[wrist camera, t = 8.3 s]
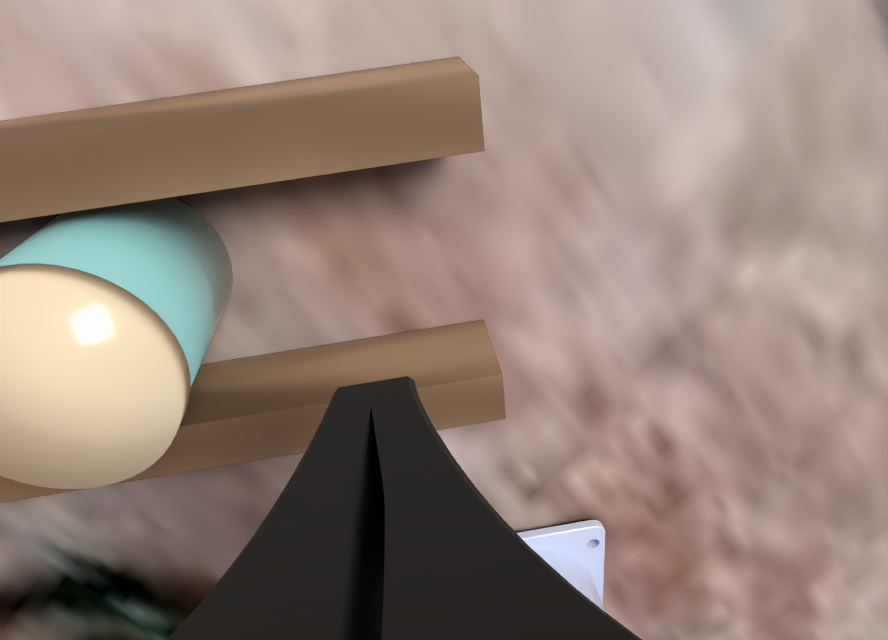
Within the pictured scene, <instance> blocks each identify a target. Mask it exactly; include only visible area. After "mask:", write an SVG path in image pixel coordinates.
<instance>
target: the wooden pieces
mask: <svg viewBox="0 0 888 640" xmlns="http://www.w3.org/2000/svg"><path fill="white" fill-rule="evenodd" d="M481 151H485V150H484V138H483V125H482V113H481V100H480V88H479V75H477V74H476V73H475V72H474V71H473V70H472V69H471V68H470V67H469V66H468V65H467V64H466V63H465V62H464V61H463V60H462V59H461V58H460V57H453V58H446V59H439V60H432V61H425V62H417V63H410V64H403V65H396V66H389V67H382V68H375V69H368V70H360V71H353V72H346V73H339V74H332V75H325V76H318V77H311V78H303V79H296V80H289V81H282V82H275V83H268V84H261V85H253V86H246V87H239V88H232V89H225V90H218V91H211V92H204V93H196V94H189V95H182V96H175V97H168V98H161V99H154V100H147V101H139V102H132V103H125V104H118V105H111V106H104V107H97V108H90V109H82V110H75V111H68V112H61V113H54V114H47V115H40V116H33V117H25V118H18V119H11V120H4V121H0V222H6V221H13V220H19V219H26V218H33V217H40V216H47V215H53V214H60V213H67V212H74V211H81V210H87V209H94V208H101V207H108V206H114V205H121V204H128V203H135V202H142V201H148V200H155V199H162V198H169V197H176V196H182V195H189V194H196V193H203V192H210V191H216V190H223V189H230V188H237V187H244V186H250V185H257V184H264V183H271V182H277V181H284V180H291V179H298V178H305V177H311V176H318V175H325V174H332V173H339V172H345V171H352V170H359V169H366V168H373V167H379V166H386V165H393V164H400V163H406V162H413V161H420V160H427V159H434V158H440V157H447V156H454V155H461V154H468V153H474V152H481ZM405 376H408V377H410V378H411V379H413V380H414V381H415V385H416V389H417V392H418V395H419V398H420V400H421V402H422V405H423V407H424V409H425V411H426V413H427V415H428V417H429V419H430V421H431V422H432V424H433V426H434V428H435V429H436V430H442V429H448V428H454V427H460V426H466V425H472V424H478V423H484V422H490V421H496V420H502V419H506V414H505V402H504V389H503V377H502V372H501V369H500V366H499V363H498V360H497V357H496V354H495V351H494V349H493V346H492V343H491V340H490V337H489V334H488V331H487V328H486V325H485V322H484V320H479V321H473V322H466V323H460V324H454V325H447V326H441V327H435V328H429V329H422V330H416V331H410V332H403V333H397V334H391V335H385V336H378V337H372V338H366V339H359V340H353V341H347V342H341V343H334V344H328V345H322V346H316V347H309V348H303V349H297V350H290V351H284V352H278V353H272V354H265V355H259V356H253V357H246V358H240V359H234V360H228V361H221V362H215V363H209V364H202V365H200V367H199V370H198V372H197V374H196V377H195V379H194V381H193V383H192V386H191V390H190V398H189V402H188V405H187V409H186V412H185V414H184V416H183V419H182V421H181V423H180V426H179V428H178V431H177V433H176V435H175V437H174V439H173V441H172V443H171V445H170V446H169V448H168V449H167V450H166V451H165V453H164V454H163V455H162V456H161V457H160V458H159V459H158V460H157V461H156V462H155V463H154V464H153V465H151V466H150V467H148V468H147V469H145V470H144V471H143V472H141V473H139V474H137V475H135V476H133V477H131V478H128V479H126V480H123V481H120V482H118V483H123V482H129V481H135V480H141V479H147V478H153V477H159V476H165V475H171V474H177V473H183V472H189V471H195V470H201V469H207V468H213V467H219V466H225V465H231V464H237V463H243V462H249V461H255V460H261V459H267V458H273V457H279V456H286V455H292V454H298V453H304V452H306V450H307V448H308V446H309V445H310V443H311V441H312V439H313V437H314V435H315V433H316V431H317V429H318V427H319V425H320V423H321V421H322V419H323V416H324V414H325V412H326V410H327V408H328V405H329V403H330V401H331V398H332V396H333V394H334V392H335V391H336V390H337V389H338V387H343V386H349V385H356V384H362V383H368V382H374V381H380V380H386V379H393V378H399V377H405ZM114 484H117V483H114ZM110 485H111V484H110ZM86 489H87V488H86ZM75 490H81V489H55V488H48V487H40V486H35V485H30V484H26V483H21V482H18V481H15V480H11V479H8V478H5V477H3V476H0V503H3V502H9V501H15V500H21V499H27V498H33V497H39V496H45V495H51V494H57V493H63V492H69V491H75Z"/></svg>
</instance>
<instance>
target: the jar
mask: <svg viewBox="0 0 888 640" xmlns="http://www.w3.org/2000/svg"><path fill="white" fill-rule="evenodd" d="M232 279H233V273H232V266H231V261H230V258H229V255H228V252H227V250H226V247H225V245H224V243H223V241H222V240H221V238H220V236H219V235H218V233H217V232H216V231H215V229H214V228H213V227H212V226H211V224H210V223H209V222H208V221H207V220H206V219H205V218H204V217H203V216H202V215H200V214H199V213H198V212H197V211H195V210H194V209H193V208H191V207H190V206H188V205H187V204H185V203H184V202H182V201H180V200H178V199H176V198H174V197H169V198H162V199H155V200H148V201H142V202H135V203H128V204H121V205H114V206H108V207H101V208H94V209H87V210H81V211H74V212H67V213H60V214H59V215H57V216H56V217H55V218H53V219H52V220H51V221H50V222H48V223H47V224H46V225H44V226H43V227H42V228H40V229H39V230H38V231H37V232H35V233H34V234H33V235H31V236H30V237H29V238H28V239H26V240H25V241H24V242H22V243H21V244H20V245H18V246H17V247H16V248H15V249H13V250H12V251H11V252H9V253H8V254H7V255H5V256H4V257H3V258H2V259H0V476H3V477H5V478H8V479H11V480H15V481H18V482H21V483H26V484H30V485H35V486H40V487H48V488H55V489H86V488H94V487H101V486H106V485H110V484H114V483H118V482H120V481H123V480H126V479H128V478H131V477H133V476H135V475H137V474H139V473H141V472H143V471H144V470H145V469H147V468H148V467H150V466H151V465H153V464H154V463H155V462H156V461H157V460H158V459H159V458H160V457H161V456H162V455H163V454H164V453H165V451H166V450H167V449H168V448H169V446H170V445H171V443H172V441H173V439H174V437H175V435H176V433H177V431H178V428H179V426H180V423H181V421H182V419H183V416H184V414H185V412H186V409H187V405H188V402H189V398H190V390H191V386H192V383H193V381H194V379H195V377H196V374H197V372H198V370H199V367H200V365H201V363H202V360H203V358H204V356H205V353H206V351H207V349H208V347H209V344H210V342H211V340H212V337H213V335H214V333H215V330H216V328H217V326H218V323H219V321H220V319H221V317H222V314H223V312H224V310H225V307H226V305H227V303H228V300H229V297H230V294H231V289H232Z"/></svg>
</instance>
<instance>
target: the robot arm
mask: <svg viewBox="0 0 888 640" xmlns="http://www.w3.org/2000/svg"><path fill="white" fill-rule="evenodd" d="M604 552H605V530H604V527H603V525H602V523H601V522H600V521H597V520H587V521H582V522H576V523H570V524H564V525H559V526H553V527H547V528H542V529H536V530H530V531H524V532H519V533H516V532H515V531H514V530H513V529H512V528H511V527H510V526H509V525H508V524H507V523H506V522H505V521H504V520H503V518H502V517H501V516H500V515H499V514H498V513H497V512H496V511H495V510H494V508H493V507H492V506H491V505H490V504H489V503H488V502H487V500H486V499H485V498H484V497H483V496H482V494H481V493H480V492H479V491H478V489H477V488H476V487H475V486H474V484H473V483H472V482H471V481H470V479H469V478H468V477H467V475H466V474H465V473H464V471H463V470H462V469H461V467H460V466H459V465H458V463H457V462H456V460H455V459H454V457H453V456H452V455H451V453H450V451H449V450H448V448H447V447H446V445H445V444H444V442H443V441H442V439H441V437H440V436H439V434H438V433H437V431H436V429H435V428H434V426H433V424H432V422H431V421H430V419H429V417H428V415H427V413H426V411H425V409H424V407H423V405H422V402H421V400H420V398H419V395H418V392H417V389H416V385H415V381H414V380H413V379H411V378H410V377H408V376H405V377H399V378H393V379H386V380H380V381H374V382H368V383H362V384H356V385H349V386H343V387H338V389H337V390H336V391H335V392H334V394H333V396H332V398H331V401H330V403H329V405H328V408H327V410H326V412H325V414H324V416H323V419H322V421H321V423H320V425H319V427H318V429H317V431H316V433H315V435H314V437H313V439H312V441H311V443H310V445H309V446H308V448H307V450H306V452H305V454H304V456H303V457H302V459H301V461H300V463H299V465H298V466H297V468H296V470H295V472H294V474H293V475H292V477H291V479H290V480H289V482H288V484H287V485H286V487H285V488H284V490H283V492H282V493H281V495H280V496H279V498H278V500H277V501H276V503H275V504H274V506H273V507H272V509H271V511H270V512H269V514H268V515H267V517H266V518H265V520H264V521H263V523H262V524H261V526H260V527H259V529H258V530H257V531H256V533H255V534H254V536H253V537H252V538H251V540H250V541H249V543H248V544H247V545H246V547H245V548H244V549H243V551H242V552H241V553H240V555H239V556H238V557H237V559H236V560H235V561H234V563H233V564H232V565H231V566H230V568H229V569H228V570H227V572H226V573H225V574H224V575H223V576H222V578H221V579H220V580H219V581H218V582H217V584H216V585H215V586H214V587H213V588H212V590H211V591H210V592H209V593H208V594H207V596H206V597H205V598H204V599H203V600H202V602H201V603H200V604H199V605H198V606H197V608H196V609H195V610H194V611H193V612H192V613H191V614H190V615H189V617H188V618H187V619H186V620H185V621H184V622H183V623H182V624H181V626H180V627H179V628H178V629H177V630H176V631H175V632H174V633H173V634H172V635H171V636H170V637H169V638H168V639H167V640H642V639H640V638H639V637H638V636H636V635H635V634H634V633H632V632H631V631H630V630H628V629H627V628H626V627H624V626H623V625H622V624H620V623H619V622H618V621H616V620H615V619H613V618H612V617H611V616H609V615H608V614H607V613H606V612H605V610H604V607H603V583H604Z"/></svg>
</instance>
